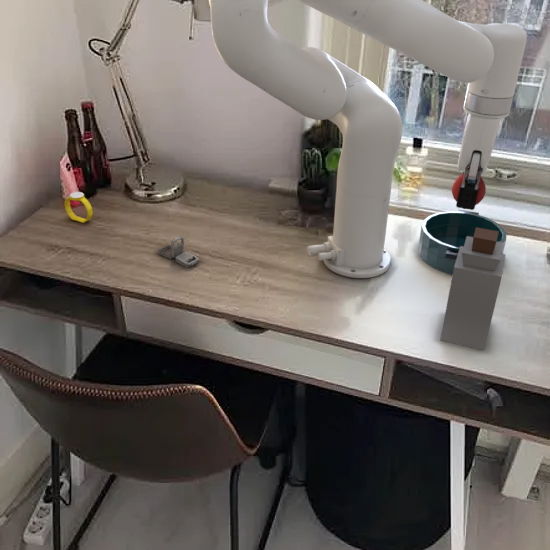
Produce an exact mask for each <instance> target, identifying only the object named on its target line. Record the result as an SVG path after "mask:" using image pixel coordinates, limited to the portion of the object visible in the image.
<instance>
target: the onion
mask: <svg viewBox="0 0 550 550" xmlns="http://www.w3.org/2000/svg"><path fill="white" fill-rule="evenodd" d="M468 168H469V167H468ZM469 170H470V168H469ZM468 176H469V174H467V177H468ZM463 177H464V174H463V173H462V174H460V175H459V176H457V178H456V179H455V180H454V182H453V184H452V185H451V194H452V197H453V199H454V200H455V202H456V203H457V199H458V194H459V189H460V185H461V186H462V182H463ZM476 178H477V175H476ZM465 184H466V183H465ZM478 188H479V191H478V195H477V200H476V204H475V206H477V205H478V204H480V203H481V202H482V200H483V199H484V198H485V196H486V192H487V188H486V183H485V181H484V179H483V177H482V175H481V176H480V180H479V185H478ZM462 210H465V209H464V208H462Z"/></svg>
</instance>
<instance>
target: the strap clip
mask: <svg viewBox="0 0 550 550" xmlns="http://www.w3.org/2000/svg"><path fill="white" fill-rule="evenodd" d="M178 241H180V242H178ZM177 242H178V243H177ZM175 243H176V244H175ZM184 249H185V238H184V236H180V235H179V236H177V237H174V238H173V240H172V241H171V243H170V245H166V246H164V247H162V248H160V249H159V250H158V253H159V254H160V255H161V256H163V257H165V258H168V259H170V260H171V259H172V260H173V259H175V262H176V263H177V264H179V265H181V266H183V267H187V268H190V267H192V266H195V265H196V264H198V263H199V261H200V259H199V257H197V256H196V255H195V254H192V253H190V252H187V251H184Z"/></svg>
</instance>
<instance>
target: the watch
mask: <svg viewBox="0 0 550 550" xmlns="http://www.w3.org/2000/svg"><path fill="white" fill-rule="evenodd" d="M71 201H72V202H73V201H74V202H78V201H79V202H81V203H82V204H83V206H84V208H85V209H86V215H87V216H86V218H84V217H81V216H77V214H76V213H75V212H73V209H72V206H71ZM64 210H65V212H66V214H67V216H68V217H69V218H70V220H72V221H76V222H79V223H82V224H86V223H87V222H88V221H89V220H91V219H92V217H93V213H94V212H93V207H92V205H91V202H90V201H89V200H88V199H87V198H86V197H85V193H83V192H81V191H73V192H71V193H70V194H69V196H68V197H66V198H65V200H64Z"/></svg>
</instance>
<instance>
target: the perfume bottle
mask: <svg viewBox="0 0 550 550" xmlns="http://www.w3.org/2000/svg"><path fill="white" fill-rule="evenodd" d="M498 232H499V231H494V230H488V229H482V228H477V227H476V229H475V233H474V237H469V236H467V237H466V241H465V244H464V247H463V246H460V249H459V252H458V256H457V259H456V263H455V266H454V271H453V275H452V278H451V282H450V286H449V292H448V298H447V303H446V308H445V313H444V317H443V323H442V328H441V334H440V339H439V341H443V342H447V343H451V344H454V345H455V344H456V345H459V346H463V347H464V346H465V347H468V348H472V349H476V350H481V351H485V349H486V344H487V340H488V336H489V332H490V327H491V324H492V321H493V315H494V312H495V307H496V303H497V299H498V295H499V291H500V287H501V283H502V279H503V272H504V268H505V267H504V266H505V262H506V254H505V253H503V254H502V250H503V244H504V243H502V242H497V237H498Z"/></svg>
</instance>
